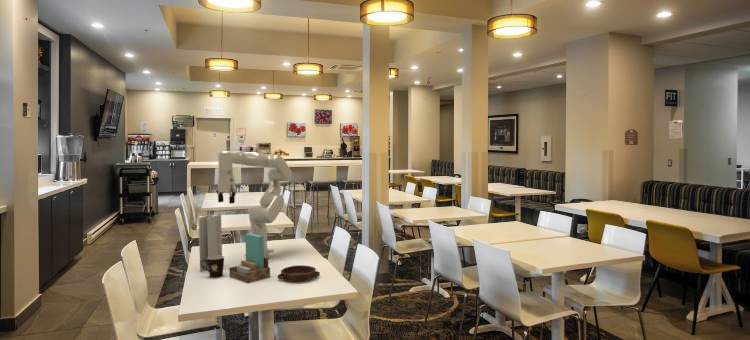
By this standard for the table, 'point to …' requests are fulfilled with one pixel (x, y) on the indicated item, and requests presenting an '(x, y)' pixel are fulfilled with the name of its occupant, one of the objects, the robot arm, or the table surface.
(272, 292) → the table surface
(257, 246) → the tall sheet
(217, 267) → the coffee mug
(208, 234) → the tall grey panel
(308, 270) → the dish
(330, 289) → the table surface
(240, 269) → the offcut grey
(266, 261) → the rack
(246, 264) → the offcut oak
